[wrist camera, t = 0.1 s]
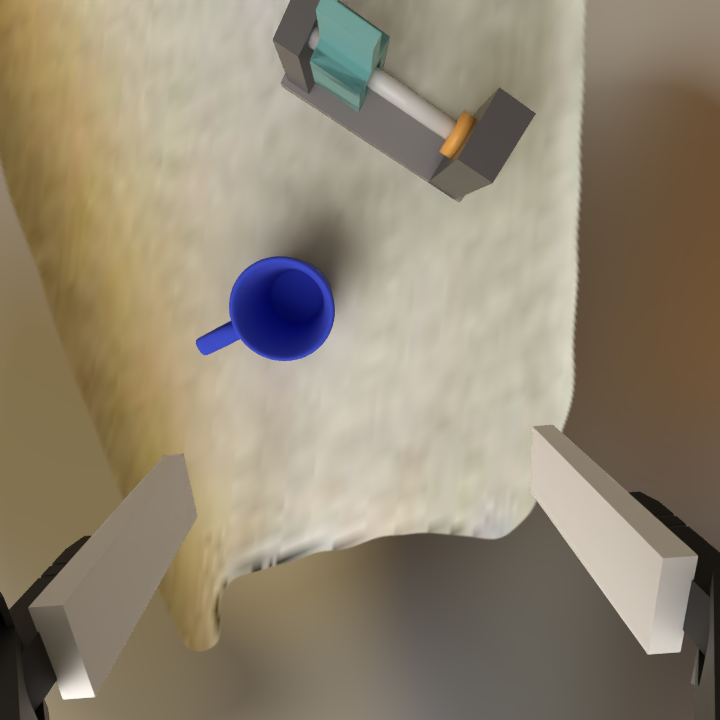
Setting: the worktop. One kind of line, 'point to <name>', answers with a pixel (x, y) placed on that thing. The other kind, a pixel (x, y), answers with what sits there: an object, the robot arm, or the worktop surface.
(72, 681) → the robot arm
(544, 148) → the worktop surface
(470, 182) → the grey slider rail stand
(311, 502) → the worktop surface
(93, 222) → the worktop surface
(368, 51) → the sleeve
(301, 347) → the mug
